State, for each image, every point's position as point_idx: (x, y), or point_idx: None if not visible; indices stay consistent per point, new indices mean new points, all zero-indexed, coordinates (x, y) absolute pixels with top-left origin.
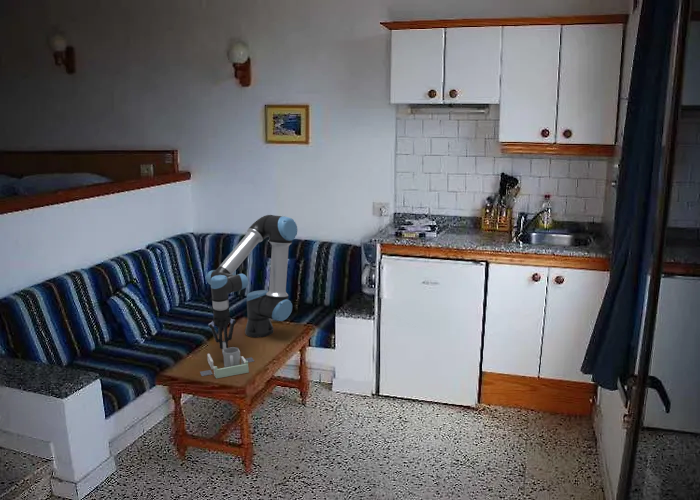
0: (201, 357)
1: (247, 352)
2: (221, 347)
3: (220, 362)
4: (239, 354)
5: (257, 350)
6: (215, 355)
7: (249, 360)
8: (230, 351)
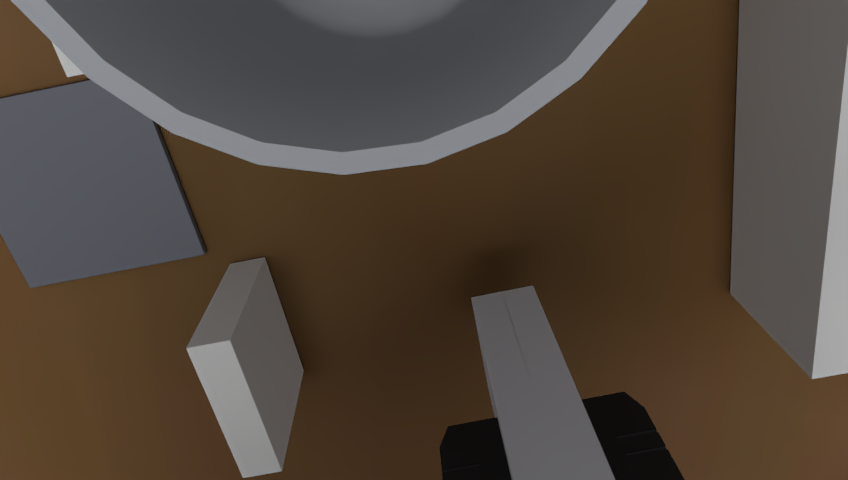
0: (810, 437)
1: (149, 471)
2: (619, 423)
3: (573, 213)
4: (219, 309)
5: None
6: None
7: (45, 162)
8: (378, 106)
